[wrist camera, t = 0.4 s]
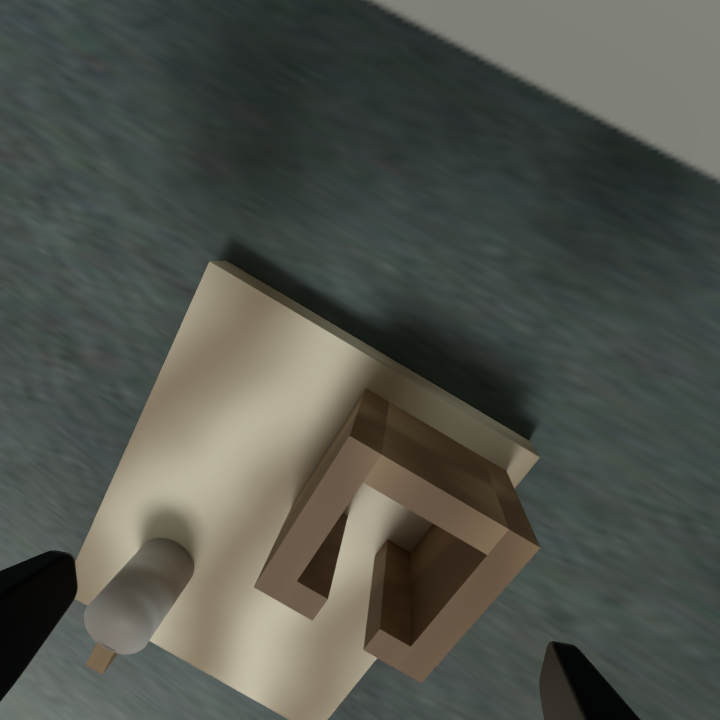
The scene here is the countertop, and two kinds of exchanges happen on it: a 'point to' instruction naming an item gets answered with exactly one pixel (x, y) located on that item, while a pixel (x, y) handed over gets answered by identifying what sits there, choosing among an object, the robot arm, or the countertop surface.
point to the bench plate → (254, 497)
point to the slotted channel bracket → (393, 563)
